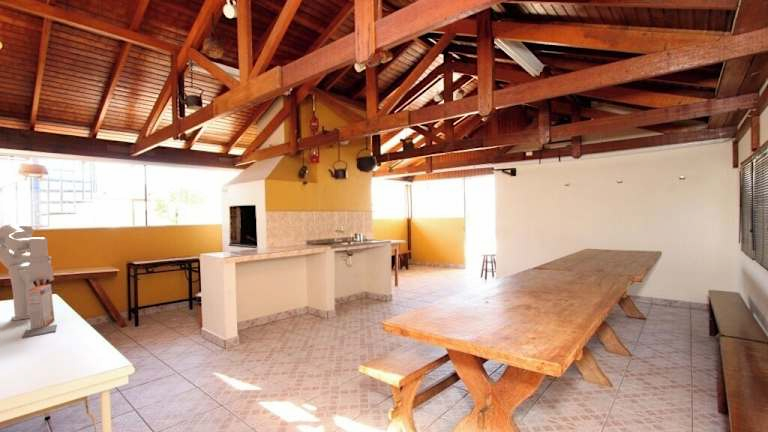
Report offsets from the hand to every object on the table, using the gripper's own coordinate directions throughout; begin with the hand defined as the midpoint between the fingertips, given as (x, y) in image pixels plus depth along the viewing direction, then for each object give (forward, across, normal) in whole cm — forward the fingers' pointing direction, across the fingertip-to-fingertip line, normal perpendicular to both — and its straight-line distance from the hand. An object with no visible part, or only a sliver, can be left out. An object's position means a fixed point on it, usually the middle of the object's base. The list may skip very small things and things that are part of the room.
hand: (42, 291), depth 207 cm
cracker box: (+16, 0, +11) cm, 20 cm away
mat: (+16, 0, +26) cm, 31 cm away
